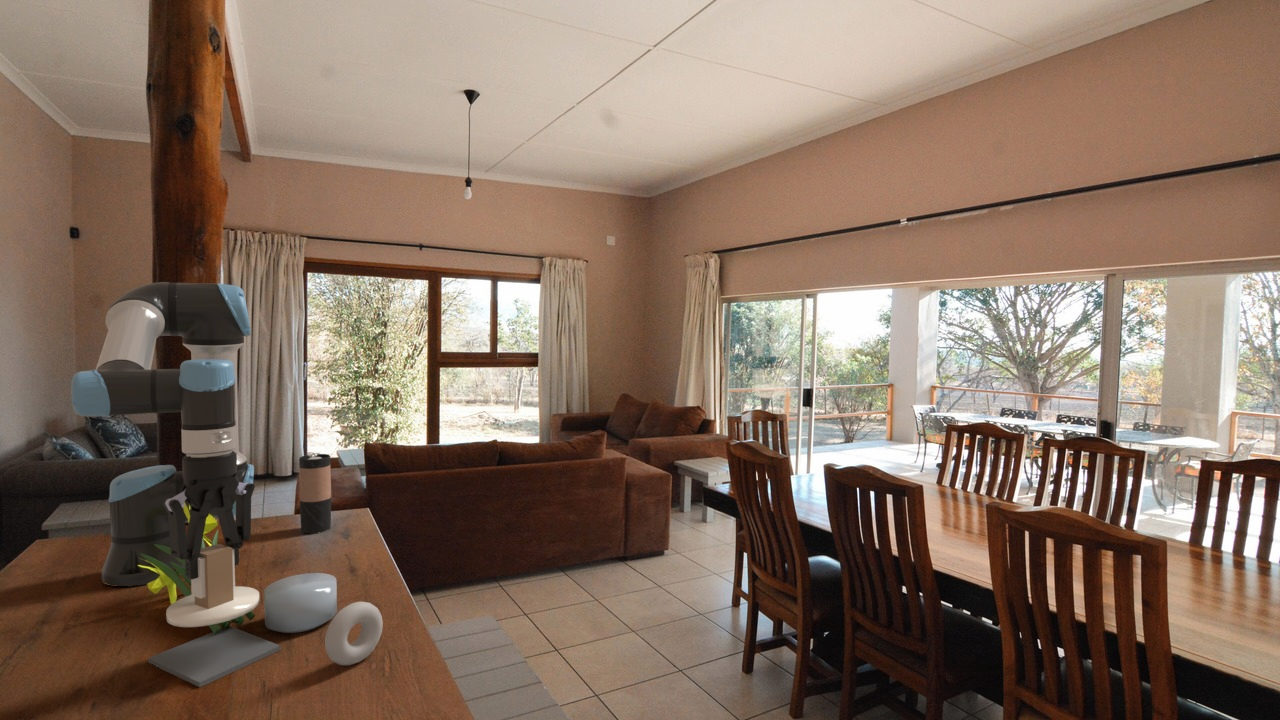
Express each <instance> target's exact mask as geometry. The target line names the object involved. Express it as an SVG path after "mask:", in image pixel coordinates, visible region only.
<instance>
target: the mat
mask: <svg viewBox="0 0 1280 720" xmlns="http://www.w3.org/2000/svg"><path fill="white" fill-rule="evenodd" d="M279 651H281V645H280V644H278V643H274V642H272V641H269V640H267V639H264V638H262V637H260V636H258V635H257V636H256V635H254V634H252V633H248V632H246V631H244V630H241V629H238V628H236V627H233V626H231V625H229V627H228V628H223V627H222V628H220V630H219V632H218V633H217V634H216V635H215V634H214V633H213V631H212V632H210V633H207V634H205V635H202V636H200V637H198V638H194V639H192V640H189V641H187V642H185V643H182V644H180V645H177V646H175V647H173V648H169V649H167V650H164V651H162V652H160V653H157V654H154V655H152V656H150V657H147V662H149V663H148V664H150V663H151V664H150V665H152V664H153V665H152V666H154V665H155V666H154V667H157V668H158V667H159V668H158V669H160V670H162V671H165V672H167V673H169V674H171V675H173V676H175V677H176V678H179V679H181V680H183V681H185V682H188V683H190V684H191V685H193V686H196V687H198V688H201V687H204V686H206V685H208V684H210V683H213V682H214V681H217V680H219V679H221V678H224V677H225V676H227V675H230V674H232V673H234V672H237V671H238V670H241V669H243V668H245V667H247V666H249V665H252V664H253V663H255V662H257V661H260V660H262V659H264V658H266V657H269V656H271V655H273V654H275V653H278V652H279Z"/></svg>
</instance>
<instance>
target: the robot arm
mask: <svg viewBox="0 0 1280 720" xmlns="http://www.w3.org/2000/svg"><path fill="white" fill-rule="evenodd" d="M246 302H247V301H246V297H245V292H244V290H243V288H242V287H240V286H238V285H234V284H225V283H219V282H218V283H201V282H200V283H199V282H198V283H195V282H194V283H193V282H170V281H169V282H168V281H167V282H166V281H160V282H159V281H158V282H152V283H148V284H144V285H141V286H137V287H135V288H133V289H130V290H129V291H127V292H125V293H124V294H122V295H120V296H119V297H118V298H117V299H115V300H114V301H113V302H112V303H111V305H110V307H109V308H108V310H107V313H106V316H105V325H106V328H107V330H108V331H107V333H106V337H105V338H104V339H105V340H104V343H103V346H102V348H101V350H100V355H99V358H98V361H97V364H96V367H95V369H90V370H82V371H78V372H76V373H75V374H74V375H73V376H72V378H71V379H72V380H71V387H70V391H71V393H70V397H71V404H72V409H73V412H74V413H75V414H76V415H78V416H80V417H103V418H106V417H107V418H108V417H111V416H112V417H114V416H115V417H116V416H127V415H128V416H129V415H130V416H131V415H143V414H144V415H146V414H164V413H181V414H180V416H181V431H180V432H181V452H182V453H183V454H185V455H184V456H183V457H182V458H181V460H182V461H181V462H182V463H181V464H182V468H181V469H182V470H179V471H177V468H176V467H175V466H174V465H173V464H165V465H162V464H160V465H154V466H147V467H142V468H139V469H134V470H131V471H127V472H125V473H123V474H120V475H117V476H116V477H115V478H114V479H112V480H111V481H110V485H109V497H108V502H109V516H110V517H109V519H110V542H111V543H110V548H109V550H108V553H107V557H106V559H105V562H104V564H103V567H102V570H101V582H102V581H103V582H104V583H107V584H110V585H117V586H128V587H136V585H137V586H143V585H147V584H148V583H149V582H152V581H154V580H156V579H157V578H158V577H159V576H160V574H158V573H156V572H155V571H153V570H150V569H148V568H143V567H140V566H138V565H141V566H147V567H152V568H156V569H158V568H157V567H155V566H154V565H153V564H151V562H150V563H149V561H148V560H147V559H145V558H144V557H143V556H141V555H140V553H141V554H144V555H147V556H150V557H152V558H154V559H156V560H158V561H160V562H162V563H164V564H165V565H167V566H168V567H170V568H171V569H173V568H174V567H173V566H172V564H171V563H170V561H171V562H173V563H175V564H177V565H178V566H180V567H183V568H185V569H186V570H185V572H186V577H187V578H188V579H191V587H190V588H191V589H190V590H191V592H192V596H195V597H198V598H204V597H206V588H205V558H203V557H200V550H201V545H202V539H203V535H205V534H204V528H205V523H206V518H207V517H208V515H209V514H210V515H211V516H213V518H215V519H214V520H217V519H218V522H219V526H220V529H221V534H222V537H223V541H224V544H225V545H224V546H228V547H231V548H232V561H233V587H235V586H236V571H235V570H236V568H235V567H236V566H239V564H240V563H239V562H240V549H241V548H242V547H243V545H244V542H248V541H250V539H252V538H251V537H252V536H251V535H252V531H251V530H252V496H253V494H254V491H255V487H256V486H255V484H254V476H255V475H254V474H255V466H254V464H250V463H247V462H248V459H247V456H246V455H244V454H243V453H241V452H240V445H239V444H240V442H239V440H240V439H239V438H240V437H239V403H238V402H239V401H238V399H239V398H238V394H239V393H238V361H237V358H238V356H237V355H238V354H237V352H238V350H239V349H241V347H242V346H243V345H244V344H245V337H249V336H251V335H252V329H251V325H250V324H251V322H250V318H249V312H248V307H247V303H246ZM161 336H162V337H163V336H164V337H167V336H171V337H181V338H182V345H183V346H184V347H185V348H186V349H188V350H189V351H190V355H191V356H190V357H191V359H190V360H189V359H188V360H184V361H182V362H181V364H180V366H179V368H158V369H156V368H155V369H152V365H153V359H154V354H155V348H156V343H157V338H159V337H161ZM184 502H185V504H186V506H187V508H188V510H189V514H190V521H189V523H188V519H187V517H186V515H185V513H184V510H183V508H184V507H185V504H184ZM189 505H190V509H189ZM186 523H188V526H187V527H188V528H187V530H186ZM186 531H187V537H186ZM154 544H157V545H162V546H165V547H169V548H171V555H169V554H168V553H166V552H164V551H163V550H161V549H159V548H157V547H156V546H155V545H154ZM174 557H175V558H174ZM176 558H178V559H181V560H183V559H185V566H184V565H183V564H182V563H181V562H179V561H178V560H177V559H176ZM142 559H143V560H142ZM145 560H147V561H148V562H147V561H145ZM132 585H133V586H132ZM134 585H135V586H134Z"/></svg>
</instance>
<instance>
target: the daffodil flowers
mask: <svg viewBox="0 0 1280 720" xmlns="http://www.w3.org/2000/svg"><path fill="white" fill-rule="evenodd" d="M184 504H185V502H184ZM189 509H190V505H189ZM183 510H184V513H185V515H186V517H187V519H188V522H187V523H188V524H189V521H190V514H189V510H188V508H187V506H186V504H185V507H184V508H183ZM218 525H219V523H218V521H217V519H215V518H213V516H211V515H210V514H209V515H208V517H207V518H206V523H205V528H204V534H203V539H202V545H201V549H202V548H205V547H206V544H208V547H209V546H212V545H216V544H218V536H219V529H217V530H216V531H215V533H214V536H213V538H212V540H211V539H210V537H208V536H207V535H205V534H208V533H210V532H211V531H213V530H214V529H215V528H217V526H218ZM187 531H188V530H186V537H187ZM205 543H206V544H205ZM154 545H155V546H156V547H157V548H159V549H161V550H163V551H164V552H166V553H168V554H169V555H171V548H169V547H165V546H162V545H157V544H154ZM140 555H141V556H143V557H144V558H145V559H147V560H148V561H149V563H150V562H151V564H153V565H154V566H155V567H157V568H158V569H156V568H152V567H147V566H141V565H138V566H140V567H143V568H148V569H150V570H153V571H155V572H156V573H158V574H160V576H159V577H158V578H157V579H156V580H154V581H152V582H149V583H148V584H146V586H147V587H148V590H149V592H151V593H153V594H155V595H157V594H158V593H159V592H160V591H161V590H162V589H163V588H164V587H165V586H166V588H167V592H168V597H169V602H170V605H171V604H173V603H174V602H176V601H177V597H178V595H177V588H178V589H179V591H180V592H181V593H182V594H183V596H184V597H187V596H189V595H192V590H191V589H190V588H191V579H188V578H187V577H186V572H185V570H186V569H185V568H183V567H180V566H178V565H177V564H175V563H173V562H171V561H170V563H171V564H172V566H173V567H174V568H173V569H171V568H170V567H168V566H167V565H165V564H164V563H162V562H160V561H158V560H156V559H154V558H152V557H150V556H147V555H144V554H141V553H140ZM174 558H175V557H174ZM176 559H177V560H178V561H179V562H181V563H182V564H183V565H184V566H185V559H183V560H181V559H178V558H176ZM142 560H143V559H142ZM147 560H145V561H147ZM148 561H147V562H148ZM181 577H182V578H181ZM183 579H184V580H183ZM186 583H187V584H188V586H187V584H186ZM255 615H256V614H255V613H254V612H253V610H252V611H250V612H248V613H246V614H244V615H242V616H240V617H237V618H235V619H232V620H229V621H225V622H222V623H217V624H213V625H207V626H208V627H209V629H210V630H211V631H212V632H213V633H214V634H215V635H216V634H217V633H218V632H219V630H220V629H221V627H222V628H228V627H229V626H231V623H232V624H233V623H234V624H236V625H237V627H240V626H241V625H242V624H243V623H244V622H245V620H246V619H245V618H244V617H243V616H246V618H247V619H248V620H249V621H252V620H253V619H254V617H256V616H255ZM219 624H220V625H219ZM220 626H221V627H220Z"/></svg>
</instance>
